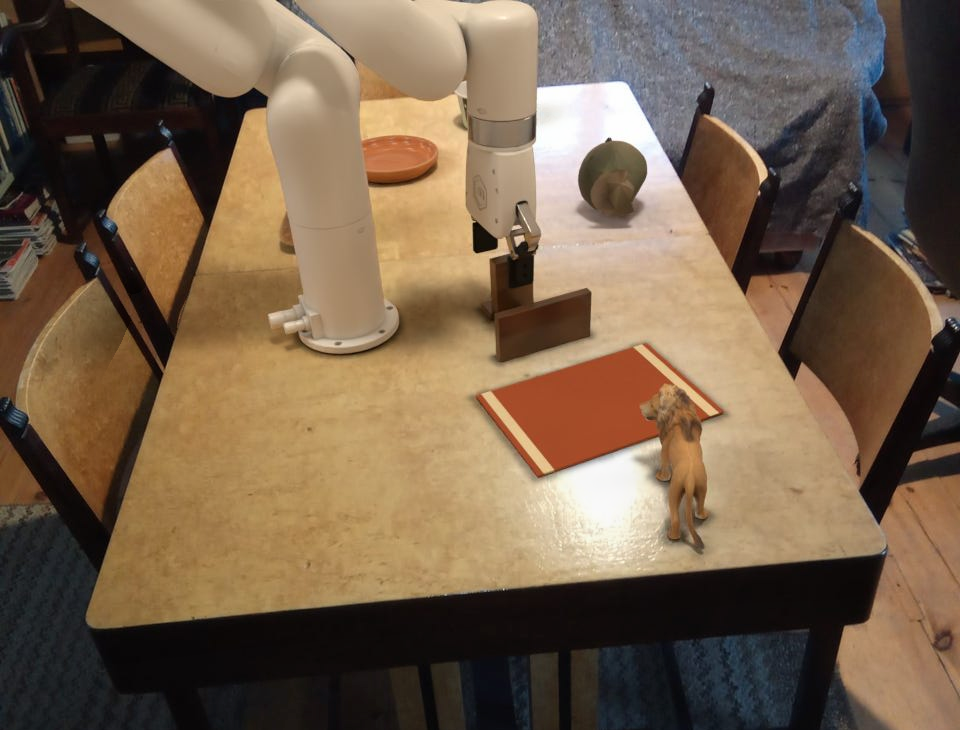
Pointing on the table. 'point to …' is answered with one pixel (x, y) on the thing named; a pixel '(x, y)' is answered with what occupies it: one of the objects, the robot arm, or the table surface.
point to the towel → (587, 408)
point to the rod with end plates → (533, 315)
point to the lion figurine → (679, 454)
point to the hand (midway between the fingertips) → (502, 267)
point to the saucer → (397, 157)
